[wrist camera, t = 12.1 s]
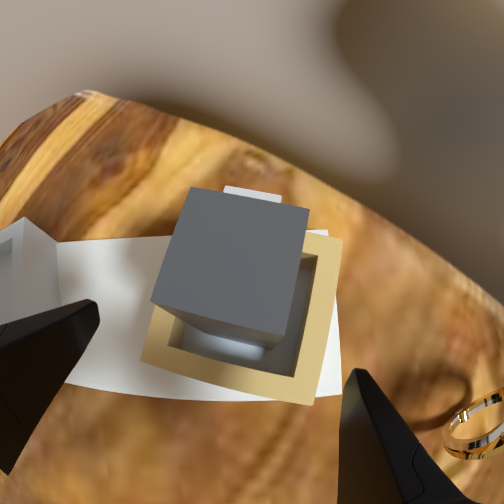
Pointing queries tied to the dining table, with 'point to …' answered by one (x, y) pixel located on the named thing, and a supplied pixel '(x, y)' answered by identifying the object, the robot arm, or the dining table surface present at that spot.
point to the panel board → (143, 322)
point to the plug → (233, 264)
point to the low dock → (252, 357)
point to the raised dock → (27, 271)
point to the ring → (479, 445)
